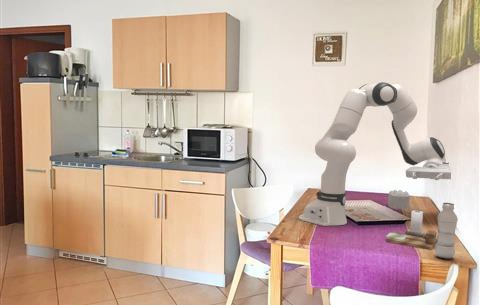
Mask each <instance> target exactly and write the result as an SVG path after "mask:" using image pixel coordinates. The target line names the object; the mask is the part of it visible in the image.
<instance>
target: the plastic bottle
mask: <svg viewBox="0 0 480 305" xmlns="http://www.w3.org/2000/svg"><path fill="white" fill-rule="evenodd" d="M441 208H442V210H441V211H440V212H439V213H438V215H437V236H436V239H437V243H436V245H435V246H434V254H435V256H436V257H438V258H441V259H446V260H447V259H448V260H450V259H453V258H454V257H455V254H456V248H455V247H456V246H455V236H456V235H455V233H456V229H457V225H458V220H459V219H458V216H457V214H456V212H454V210H455V204H454V203H452V202H442V207H441Z"/></svg>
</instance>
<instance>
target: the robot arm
mask: <svg viewBox="0 0 480 305" xmlns="http://www.w3.org/2000/svg"><path fill="white" fill-rule="evenodd" d="M381 106H382V107H384V106H385V107H386V106H387V108H388V109H389V111H390V113H391V114H392V118H393V119H392V121H391V128H392V131H393V134H394V136H395V139H396V141H397V143H398V147H399V149H400V151H401V154H402V155H401V156H402V158H403V160H404V162H405V163H406V164H408V165H409V166H411V167H408V168H406V170H405V177H406V178H408V179H409V178H410V179H411V178H412V180H417V179H429V180H434V181H439V180H452V179H451V169H450V166H449V163H450V162H448V163H446V158H445V155H446V151H445V148H444V147H445V146H444V145H443V144H442V142H441V141H440V140H439V139H437V138H436V137H434V136H433V137H432V136H431V137H428V138H425V139H423V140H420V141H418V142H415V143H413V144H412V143H409V140H408V138H407V136H406V133H405V129H406V128H407V126H409V125H410V124H411V123H412V122H413V121H414V119H415V118H416V116H417V114H418V113H417V112H418V107H417V105H416V103H415V101H414V99H413V98H412V96H411V94H409V92H408V91H407V90H406V89H405V88H404V87H403V85H402V84H400V83H399V84H398V83H393V84H390V83H389V82H388V83H387V82H384V81H381V82H371V83H366V84H363V85H361V86H360V87H359V88H351V89H349V90H348V91H347V92H346V94H345V96H344V97H343V99H342V101H341V103H340V104H339V108H338V109H337V112H336V115H335V117H334V119H333V121H332V123H331V125H330V126H329V128H328V130H327V131H326V133H324V135H323V136H322V137H321V138H320V139H319V140H317V142H316V144H315V146H314V152H315V154H316V155H317V157H319V158H320V159H321V160H323V161H326V162H327V163H326V165H325V166H326V167H325V169H324V171H322V174H321V176H320V177H321V180H320V189H319V191H318V192H316V193H315V196H316V199H314V200H312V201H311V202H309V203H308V204H306V206H305V208H304V210H303V213H302V214H300V215H298V220H299V221H303V222H307V223H310V224H311V223H312V224H315V225H319V226H322V227H329V226H343V225H346V224H347V223H348V221H347V216H346V202H347V195H346V194H347V193H346V182H347V181H346V180H347V179H346V178H347V174H348V171H349V168H350V165H351V164H352V162H353V161H354V160H355V158H356V156H357V150H356V148H355V146H354V145H353V143H351V142H349V141H348V139H349V138H350V137H351V136H352V135H354V134H355V133H356V131H357V129H358V127H359V125H360V122H361V120H362V117H363V114H364V112H365V109H366V108H367V107H381ZM425 161H426V162H425ZM423 162H424V164H423V166H416V165H419V164H420V163H423Z"/></svg>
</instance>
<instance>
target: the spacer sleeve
mask: <svg viewBox="0 0 480 305" xmlns="http://www.w3.org/2000/svg"><path fill="white" fill-rule="evenodd" d="M423 215H424V211H421V210H411V215H410V216H411V217H410V230H409V231H411V232H417V233H422V234H423V232H422V230H423V219H424V218H423V217H424V216H423Z"/></svg>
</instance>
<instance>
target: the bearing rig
mask: <svg viewBox="0 0 480 305" xmlns="http://www.w3.org/2000/svg"><path fill="white" fill-rule="evenodd" d="M385 239H386V240H385V241H386V243H391V244H397V245H402V246H406V247H407V246H408V247H413V248H418V249H424V250H430V251H433V249H434V248H435V246H436V243H437V231H434V230H429V229H428V230H427V232H422V233H417V232H411V231H410V230H405V233H403V232H396V231H393V232H389V233H388V234H387V235H386V236H385Z"/></svg>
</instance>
